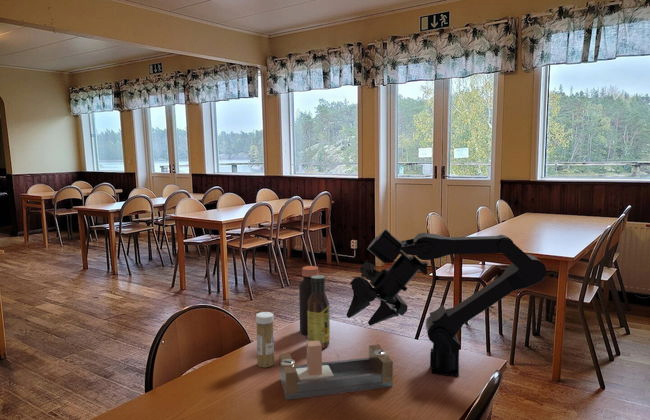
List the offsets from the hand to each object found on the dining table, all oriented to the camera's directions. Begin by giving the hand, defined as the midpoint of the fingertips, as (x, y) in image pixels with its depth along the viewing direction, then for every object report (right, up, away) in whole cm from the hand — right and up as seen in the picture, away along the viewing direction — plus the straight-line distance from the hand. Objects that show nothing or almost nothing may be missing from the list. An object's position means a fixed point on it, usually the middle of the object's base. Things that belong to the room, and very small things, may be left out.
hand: (358, 320), depth 122 cm
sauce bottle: (-10, -10, +15) cm, 21 cm away
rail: (-6, -13, -7) cm, 16 cm away
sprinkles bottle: (-24, -12, +3) cm, 27 cm away
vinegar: (-13, -9, +24) cm, 29 cm away
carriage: (-11, -12, -9) cm, 18 cm away
